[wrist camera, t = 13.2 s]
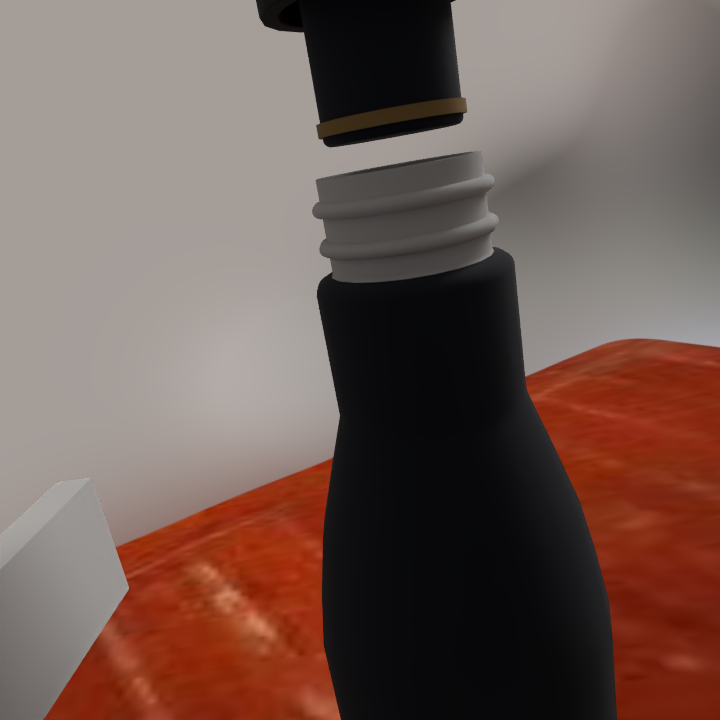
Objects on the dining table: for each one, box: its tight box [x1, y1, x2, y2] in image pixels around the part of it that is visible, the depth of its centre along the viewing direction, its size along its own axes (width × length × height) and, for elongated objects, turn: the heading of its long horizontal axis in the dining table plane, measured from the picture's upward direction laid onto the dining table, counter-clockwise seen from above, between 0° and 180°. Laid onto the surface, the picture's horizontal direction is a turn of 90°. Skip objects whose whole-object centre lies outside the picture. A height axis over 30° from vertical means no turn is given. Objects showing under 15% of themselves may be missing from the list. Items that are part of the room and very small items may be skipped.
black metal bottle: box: [256, 0, 617, 720], centre depth 14 cm, size 6×6×30 cm
